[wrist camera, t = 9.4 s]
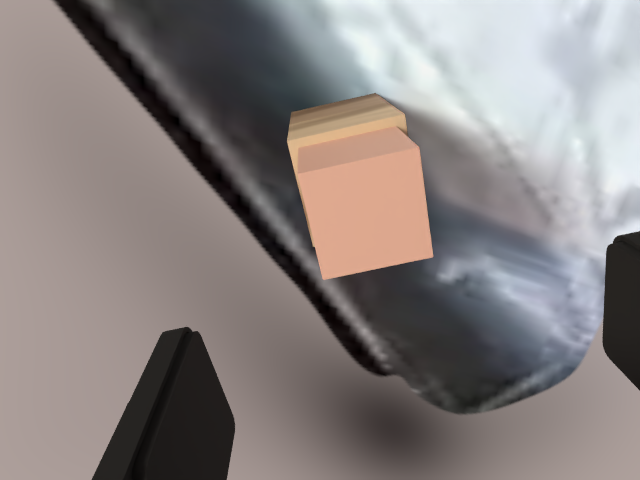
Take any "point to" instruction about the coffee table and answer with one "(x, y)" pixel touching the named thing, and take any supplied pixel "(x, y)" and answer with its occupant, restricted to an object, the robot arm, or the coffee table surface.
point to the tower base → (336, 108)
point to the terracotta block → (365, 201)
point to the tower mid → (341, 130)
